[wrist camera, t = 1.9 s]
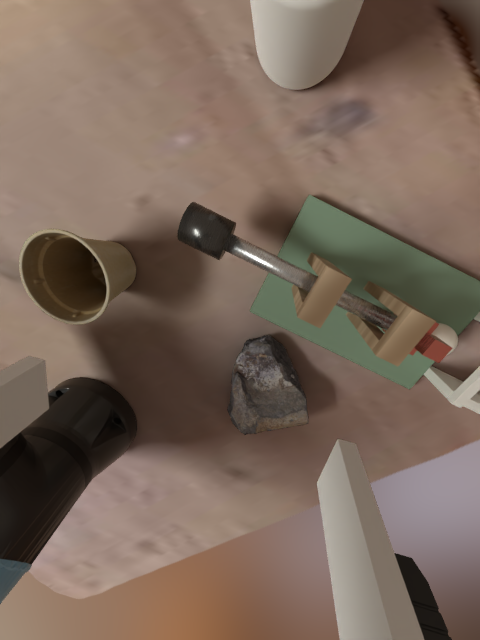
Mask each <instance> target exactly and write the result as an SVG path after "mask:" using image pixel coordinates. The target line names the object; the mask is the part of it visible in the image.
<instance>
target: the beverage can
mask: <svg viewBox="0 0 480 640" xmlns="http://www.w3.org/2000/svg"><path fill="white" fill-rule="evenodd" d="M250 2H251V10H252V18H253V26H254V34H255V42H256V49H257V54H258V58H259V61H260V63H261V66H262V68H263V70H264V71H265V73H266V74H267V75H268V77H269V78H270V79H271V80H272V81H273V82H275V83H276V84H277V85H279V86H281V87H283V88H286V89H291V90H301V89H306V88H309V87H312V86H314V85H316V84H318V83H319V82H321V81H322V80H323V79H325V78H326V77H327V76H328V75H329V74H330V73H331V72H332V70H333V69H334V68H335V67H336V65H337V64H338V62H339V61H340V59H341V57H342V55H343V53H344V51H345V48H346V46H347V43H348V40H349V38H350V35H351V33H352V30H353V28H354V25H355V22H356V20H357V17H358V15H359V12H360V10H361V7H362V4H363V2H364V0H250Z"/></svg>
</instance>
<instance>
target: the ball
mask: <svg viewBox="0 0 480 640" xmlns="http://www.w3.org/2000/svg"><path fill="white" fill-rule="evenodd" d="M438 324H439V325H438V327H437V328H436V329H435V330H434V331H433V333H432V335H434V336H436V337H438V338H439V339H441V340H442V341H444V342H445V343H446V344H448V345H449V346H451V347H452V349H451V351H450V352H449V353H448V354H450V353H451V352H453V351H454V350H455V348H456V347H457V344H458V337H457V334H456V332H455V331H454V330H453V329H452V328H451V327H449V326H448V325H445V324H442V323H438ZM448 354H447V355H448Z"/></svg>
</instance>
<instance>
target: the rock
mask: <svg viewBox="0 0 480 640" xmlns="http://www.w3.org/2000/svg"><path fill="white" fill-rule="evenodd" d="M231 382H232V390H231V395H230V404H229V406H228V412H229V415H230V417H231V421H232V422H233V424H234V425H235V426H236V427H237V428H238V429H239V430H240V431H241V432H242V433H243V434H245V435H246V434H248V433H249V434H252V433H254V434H256V433H259V432H263V431H271V430H275V429H282V428H285V427H287V428H288V427H292V426H300V425H305V424H308V422H309V420H308V412H307V401H306V397H305V394H304V392H303V390H302V388H301V385H300V382H299V378H298V375H297V373H296V371H295V369H294V368H293V366H292V363H291V360H290V358H289V356H288V354H287V352H286V349H285V348H284V346H283V345H282V344H280V343H279V342H277V341H276V340H275V339H273V338H272V337H271V336H269V335H266V336H262V337H260V338H257V339H253V340H252V339H249V340H247V341H246V342H245V344H244V347H243V349H242V351H241V353H239V355H238V357H237V359H236V363H235V365H234V368H233V372H232V381H231Z"/></svg>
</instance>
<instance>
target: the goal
mask: <svg viewBox="0 0 480 640" xmlns="http://www.w3.org/2000/svg"><path fill="white" fill-rule="evenodd" d="M474 319H475V320H477V321H479V322H480V312H479V313H478V314H477V315H476V317H475V318H474ZM424 375H425V376H426V377H427V379H428V380H429V381H430V382H431V383H432V384H433V385H434V386H435V387H436V388H437V389H438V390H439V391H440V392H441V393H442V394H443V395H444V396H445V397H446V398H447V399H448V401H449V402H450V403H451V404H453V405H455V406H457V407H459V408H461V407H462V406H464V407H466V408H468V409H470V410H472V411H474V412H476V413H478V414H480V366H479V367H478V368H477V369H476V370H475V371H474V372H473V373H472V374H471V375H470V376H469V377H468V378H467V379H466V380H465V381H464V382H463V381H461V380H459V379H457V378H455V377H453V376H451V375H449V374H447V373H445V372H443V371H441V370H439V369H437V368H435V367H432V366H430V368H429V369H428V370H427V371H426V372H425V373H424Z"/></svg>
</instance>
